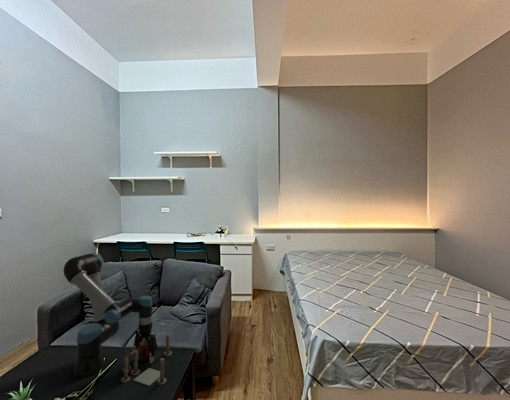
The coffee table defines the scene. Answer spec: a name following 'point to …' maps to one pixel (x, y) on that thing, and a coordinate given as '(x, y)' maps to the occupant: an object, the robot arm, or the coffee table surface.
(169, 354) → the gate post far
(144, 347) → the mug
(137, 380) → the pad
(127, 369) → the light wood frame
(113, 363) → the coffee table surface
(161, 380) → the gate post right
